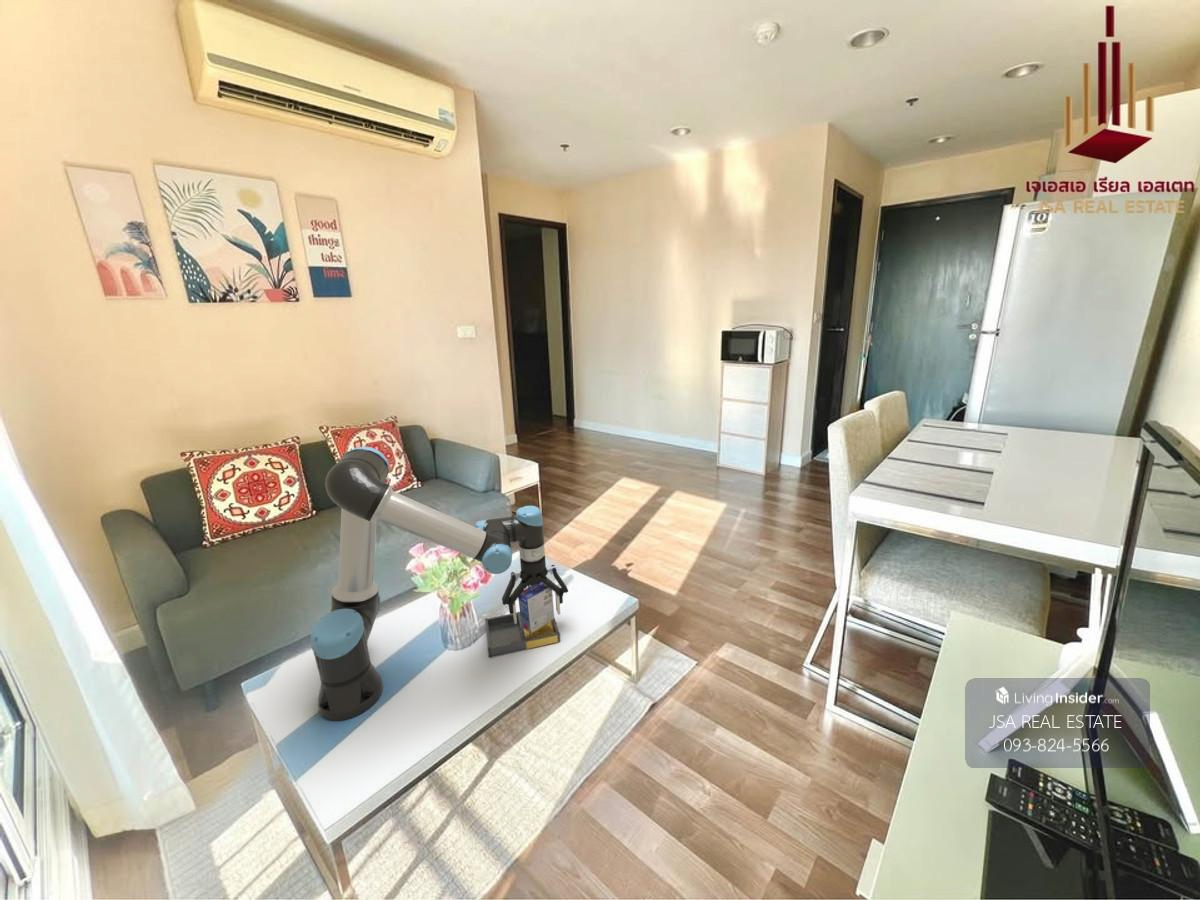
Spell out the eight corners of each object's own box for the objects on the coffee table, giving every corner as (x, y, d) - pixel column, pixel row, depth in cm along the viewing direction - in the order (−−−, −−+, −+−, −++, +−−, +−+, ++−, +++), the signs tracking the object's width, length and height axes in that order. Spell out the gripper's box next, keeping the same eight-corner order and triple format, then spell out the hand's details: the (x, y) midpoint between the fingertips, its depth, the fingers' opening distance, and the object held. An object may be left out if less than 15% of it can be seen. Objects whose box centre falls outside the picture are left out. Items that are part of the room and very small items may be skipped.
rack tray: (489, 658, 136) (488, 649, 135) (485, 626, 149) (484, 618, 148) (560, 642, 141) (559, 634, 140) (551, 613, 155) (550, 605, 154)
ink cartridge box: (544, 611, 151) (541, 572, 147) (555, 618, 147) (552, 579, 143) (519, 626, 144) (516, 586, 140) (530, 634, 141) (527, 593, 136)
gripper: (491, 569, 132) (497, 632, 138) (575, 555, 139) (578, 615, 145) (489, 557, 139) (495, 617, 145) (569, 543, 146) (572, 601, 152)
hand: (537, 616), depth 145 cm, fingers open, 13 cm apart
